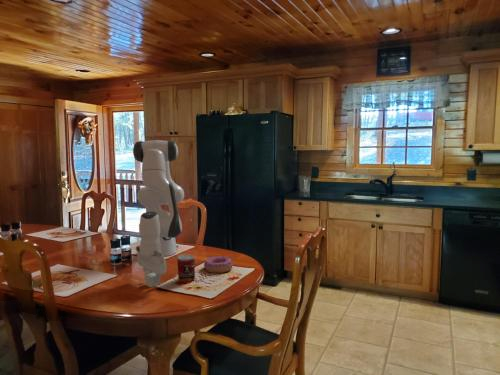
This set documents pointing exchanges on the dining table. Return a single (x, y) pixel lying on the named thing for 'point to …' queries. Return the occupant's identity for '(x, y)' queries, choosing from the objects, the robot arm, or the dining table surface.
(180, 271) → the canned food
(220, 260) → the donut
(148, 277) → the sage block
